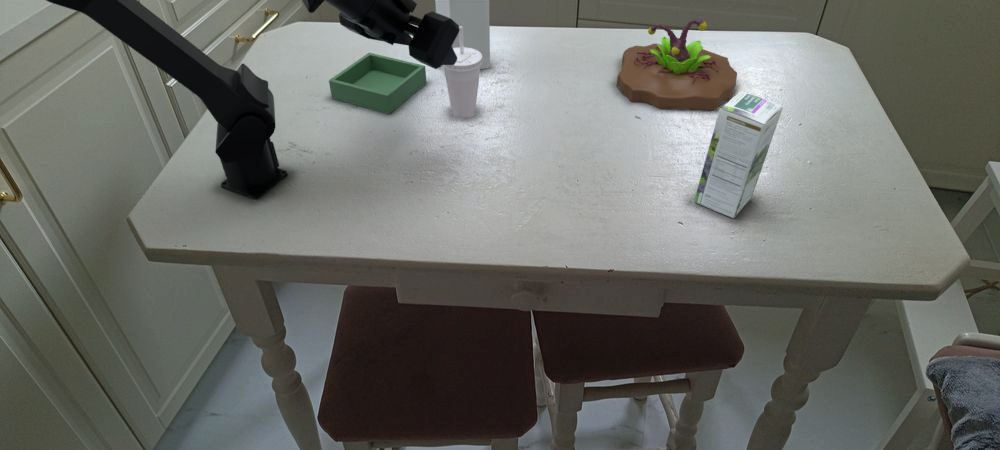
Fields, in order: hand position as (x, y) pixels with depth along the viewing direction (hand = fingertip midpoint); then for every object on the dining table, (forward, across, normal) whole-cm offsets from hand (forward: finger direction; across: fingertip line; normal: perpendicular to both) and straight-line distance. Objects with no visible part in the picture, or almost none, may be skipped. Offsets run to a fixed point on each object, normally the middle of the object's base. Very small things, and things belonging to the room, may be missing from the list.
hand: (432, 51), depth 91 cm
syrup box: (+18, -42, 0) cm, 45 cm away
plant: (+36, -20, -18) cm, 44 cm away
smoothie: (+13, 0, +5) cm, 14 cm away
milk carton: (+22, +12, -4) cm, 25 cm away
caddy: (+10, +16, +8) cm, 20 cm away
